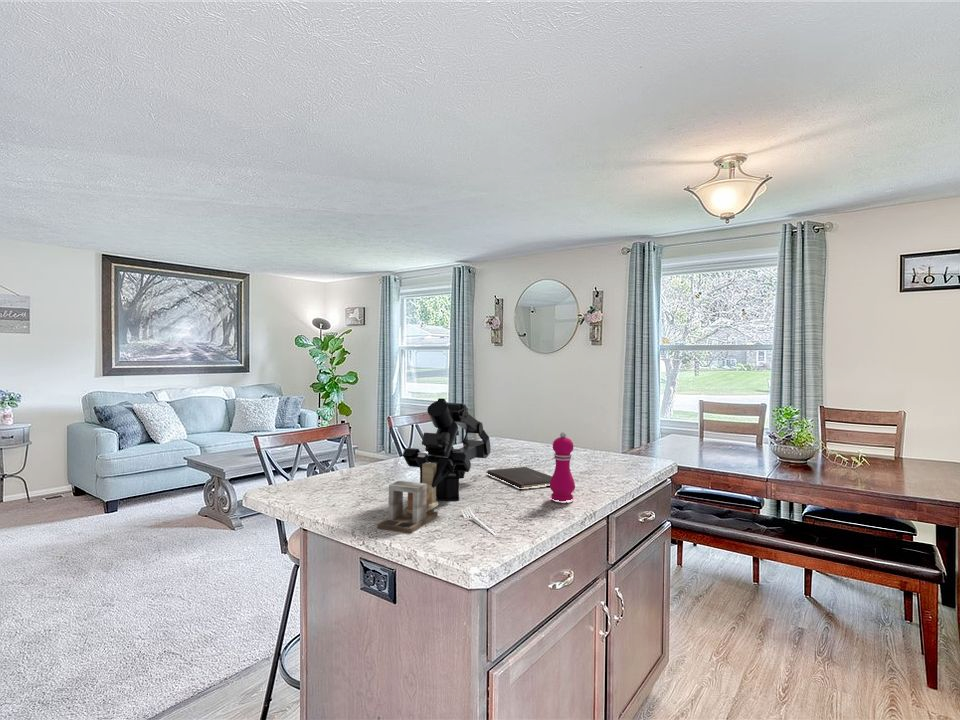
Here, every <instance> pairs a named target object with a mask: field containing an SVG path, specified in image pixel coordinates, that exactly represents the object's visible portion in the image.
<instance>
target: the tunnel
mask: <svg viewBox="0 0 960 720" xmlns="http://www.w3.org/2000/svg"><path fill="white" fill-rule="evenodd" d="M408 492H410V493H413V514H409V513H406V510H407V509H408V507H405V508H404V509H403V507H404V506H403V505H404V493H408ZM426 496H427V484H424V483H420V482H414V481H404V480H398V481H395V482H393V483H390V484H389V485H388V508H387V509H388V513H387V515H388V516H387V517H388V518H386V519H383V520H382V521H380V522H378V523H377V527H376V528H377V529H381V530H386V531H387V530H388V531H393V530H394V532H401V533H407V534H409V533H410V534H412V533H414V532H415V531H417V530H418V529H420V528H421V527H423V526H424V525H426V524H427V523H429V522H431V521H432V520H434V519H435V518H437V517H438V514H439V513H438V511H433V510H429V511H428V512H426Z"/></svg>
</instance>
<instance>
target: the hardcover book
mask: <svg viewBox="0 0 960 720" xmlns="http://www.w3.org/2000/svg"><path fill="white" fill-rule="evenodd" d="M487 473H488V474H490V475H492V476H495V477H497V478H499V479H501V480H504V481H506V482H508V483H510V484H512V485H515V486H517V487H519V488H524V487H532V486H538V485H545V484H550V481H551V478H552V476H553V475H549V474H546V473H544V472H541V471H538V470H535V469H532V468H530V467H527V466H519V467H510V468H499V469H498V468H497V469H488V470H487V471H486V474H487Z"/></svg>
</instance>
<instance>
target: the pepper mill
mask: <svg viewBox="0 0 960 720" xmlns="http://www.w3.org/2000/svg"><path fill="white" fill-rule="evenodd" d="M552 450H553V452H554V454H553V456H554V457H553V459H555V467H554V472H553V474H552V475H551V476H552V478H551V481H550V487H549V488H550V490H551V492H552V493H551V496H550V497H551V498H552V499H554V500H559V501H566V500H571V499H573V500H574V495H573V494H572V493H573V492H574V491H575V488H576V485H575V484H576V483H575V480H574V477H573V474H572V472H571V465H570V463H571V460H572V454H571V453H572V452H573V451H574V443H573V440H571V439H570V438H568V437H567V433H566V432H565V431H561V432H560V434H559V437H557V438H556V439H554V440H553V441H552Z"/></svg>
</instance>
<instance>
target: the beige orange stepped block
mask: <svg viewBox="0 0 960 720" xmlns="http://www.w3.org/2000/svg"><path fill="white" fill-rule="evenodd" d="M436 467H437V463H430V462H429V463H427V462H426V463H424V464H422V483H424V484H427V496H426V512H428V511H432V510H433V509H434V508H435V507H437V506H438V505H439V501H437V497H436V486H435V487H434V488H433V487H432V482H433V479H434V476H435V474H436ZM407 508H408V509H407V510H406V513H409V514H413V493H410V492H407Z"/></svg>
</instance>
